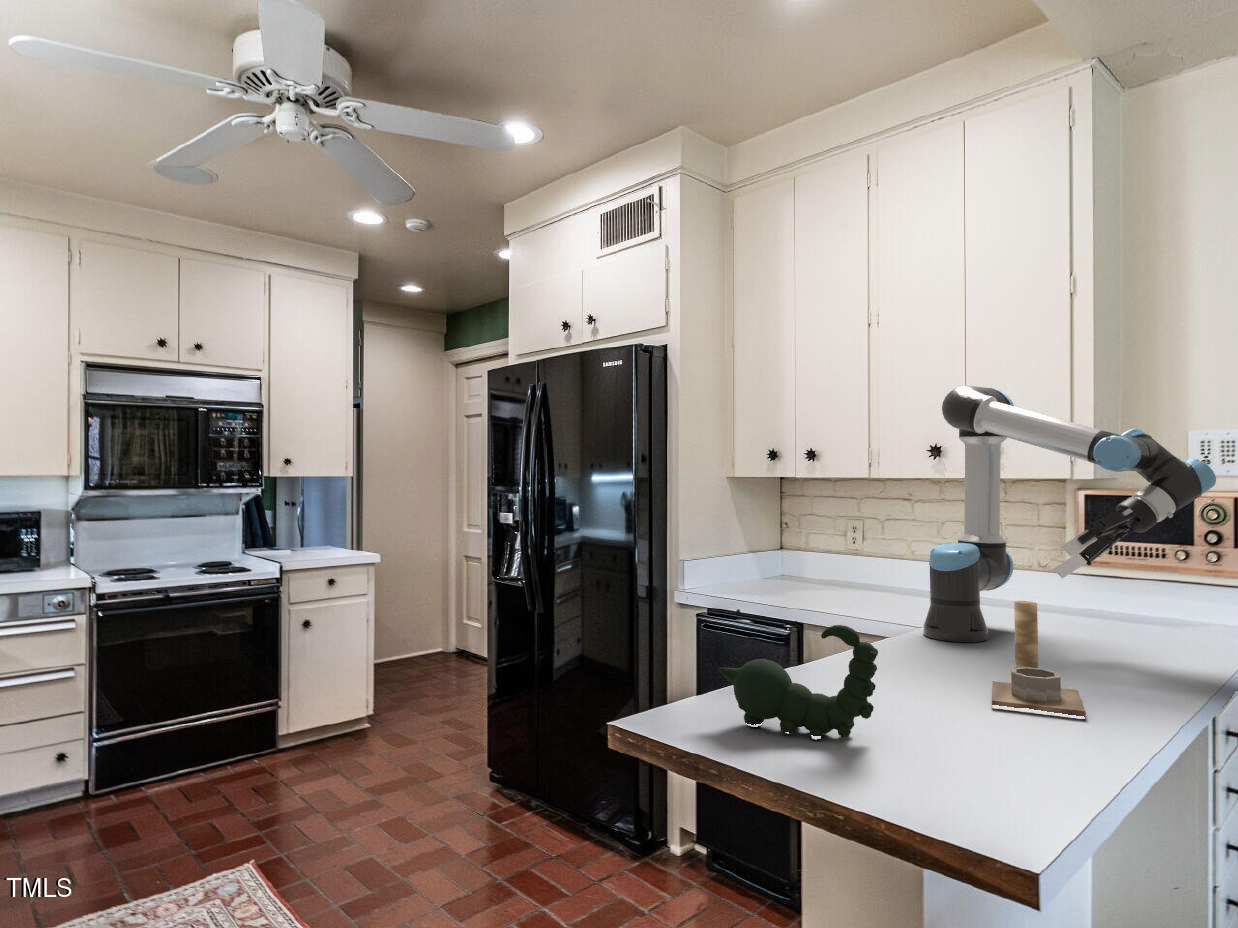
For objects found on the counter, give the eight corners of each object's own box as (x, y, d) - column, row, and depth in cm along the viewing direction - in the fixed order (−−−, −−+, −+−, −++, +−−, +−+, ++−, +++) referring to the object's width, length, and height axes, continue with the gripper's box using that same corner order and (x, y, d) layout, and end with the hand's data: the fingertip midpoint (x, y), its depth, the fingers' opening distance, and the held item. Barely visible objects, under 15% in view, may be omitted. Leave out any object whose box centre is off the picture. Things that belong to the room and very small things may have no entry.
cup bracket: (991, 708, 131) (991, 677, 131) (992, 688, 144) (992, 660, 144) (1085, 720, 125) (1084, 687, 125) (1077, 698, 137) (1077, 668, 137)
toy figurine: (872, 743, 119) (722, 709, 130) (882, 625, 119) (730, 601, 130) (865, 763, 111) (705, 726, 121) (875, 637, 110) (714, 610, 121)
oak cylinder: (1015, 685, 146) (1014, 603, 147) (1015, 680, 150) (1013, 600, 150) (1039, 687, 144) (1037, 604, 145) (1038, 682, 148) (1036, 601, 148)
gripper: (1173, 497, 152) (1084, 555, 153) (1145, 543, 172) (1067, 594, 173) (1142, 472, 157) (1055, 528, 157) (1119, 520, 177) (1042, 569, 178)
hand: (1061, 562), depth 165 cm, fingers open, 13 cm apart
